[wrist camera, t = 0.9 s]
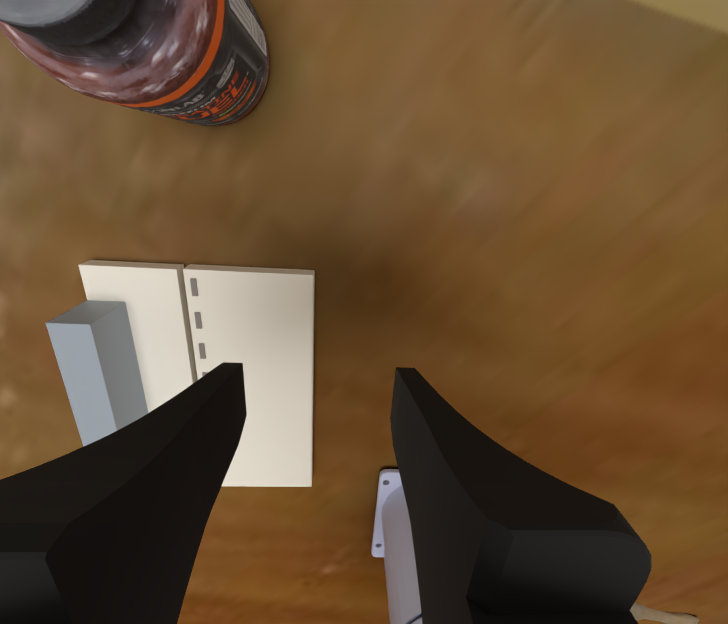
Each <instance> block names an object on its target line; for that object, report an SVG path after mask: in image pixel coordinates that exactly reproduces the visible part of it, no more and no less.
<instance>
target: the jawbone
mask: <svg viewBox="0 0 728 624" xmlns="http://www.w3.org/2000/svg"><path fill="white" fill-rule="evenodd" d="M630 611H631V613H632V615H633V616H634V618H635V619H636V621H637V620H642V619H651V620H656V621H660V622H663V623H666V624H698V621H699V618H697V617H695V616H692V615H689V614H685V613H668V612H663V611H658V610H654V609H651V608H648V607H646V606H644V605H641V604H639V603H636V602H634V604H633V606H632V607H631V609H630Z"/></svg>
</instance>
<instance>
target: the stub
mask: <svg viewBox="0 0 728 624" xmlns="http://www.w3.org/2000/svg"><path fill="white" fill-rule="evenodd" d="M79 269H80V273H81V277H82V281H83V285H84V289H85V293H86V297H87V301H85V302H83V303H81V304H79V305H78V306H76V307H74V308H72V309H70V310H69V311H67V312H65V313H63V314H61V315H59V316H58V317H56V318H54V319H52V320H50V321H48V322H47V323H46V326H47V329H48V332H49V336H50V339H51V342H52V345H53V349H54V352H55V355H56V358H57V362H58V365H59V368H60V371H61V375H62V378H63V381H64V384H65V388H66V391H67V394H68V397H69V401H70V404H71V407H72V410H73V414H74V417H75V420H76V424H77V427H78V430H79V433H80V437H81V440H82V443H83V446H86V445H88V444H90V443H93V442H95V441H97V440H99V439H101V438H103V437H106V436H108V435H110V434H112V433H114V432H115V431H117V430H119V429H121V428H123V427H125V426H127V425H129V424H130V423H132V422H134V421H136V420H138V419H139V418H141V417H143V416H144V415H146V414H148V413H149V412H151V411H153V410H154V409H156V408H157V407H159V406H160V405H162V404H164V403H165V402H167V401H168V400H170V399H171V398H173V397H174V396H176V395H177V394H179V393H180V392H182V391H183V390H185V389H186V388H187V387H189V386H190V385H192V384H193V383H195V382H196V381H197V380H198V377H197V369H196V362H195V355H194V347H193V340H192V333H191V325H190V318H189V311H188V303H187V296H186V289H185V281H184V274H183V269H184V264H166V263H145V262H124V261H103V260H89V261H87V262H84V263H82V264H79Z"/></svg>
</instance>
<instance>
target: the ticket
mask: <svg viewBox="0 0 728 624" xmlns="http://www.w3.org/2000/svg"><path fill="white" fill-rule="evenodd" d="M183 274H184V281H185V289H186V296H187V303H188V311H189V318H190V325H191V333H192V340H193V347H194V355H195V362H196V369H197V377H198V380H199V379H200V378H201V377H203V376H204V375H206V374H207V373H208V372H210V371H211V370H213V369H214V368H215V367H217V366H218V365H220V364H221V363H223V362H231V363H243V373H244V386H245V399H246V412H247V416H246V420H245V424H244V428H243V431H242V435H241V438H240V442H239V445H238V447H237V450H236V452H235V455H234V457H233V460H232V462H231V464H230V467H229V469H228V472H227V474H226V476H225V479H224V481H223V483H222V486H271V487H311V485H312V473H313V378H314V284H315V270H303V269H282V268H261V267H240V266H219V265H198V264H190V265H188V266H187V267H185V268H184V269H183Z"/></svg>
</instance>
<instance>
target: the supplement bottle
mask: <svg viewBox="0 0 728 624" xmlns="http://www.w3.org/2000/svg"><path fill="white" fill-rule="evenodd" d="M0 30H1V31H2V32H3V34H4V35H5V36H6V37H7V38H8V39H9V40H10V41H11V42H12V43H13V45H14V46H15V47H16V48H17V49H18V50H19V51H20V52H21V53H22V54H23V55H24V56H25V57H27V58H28V59H29V60H30V61H31V62H32V63H33V64H34V65H36V66H37V67H38V68H40V69H41V70H42V71H44V72H45V73H47V74H48V75H49V76H51V77H52V78H54V79H56V80H57V81H59V82H61V83H62V84H64V85H66V86H67V87H69V88H71V89H73V90H75V91H77V92H79V93H82V94H84V95H87V96H90V97H93V98H96V99H99V100H102V101H106V102H110V103H113V104H117V105H121V106H124V107H128V108H133V109H137V110H141V111H145V112H149V113H154V114H158V115H162V116H166V117H170V118H173V119H177V120H181V121H185V122H188V123H193V124H199V125H204V126H217V125H218V126H220V125H225V124H230V123H233V122H235V121H237V120H239V119H241V118H243V117H244V116H246V115H247V114H248V113H249V112H250V111H251V110H252V109H253V108H254V107H255V106H256V104H257V103H258V101H259V100H260V98H261V96H262V94H263V92H264V89H265V86H266V84H267V81H268V74H269V50H268V44H267V39H266V35H265V32H264V29H263V26H262V24H261V22H260V19H259V17H258V15H257V13H256V10H255V9H254V7H253V5H252V4H251V2H250V0H0Z"/></svg>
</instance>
